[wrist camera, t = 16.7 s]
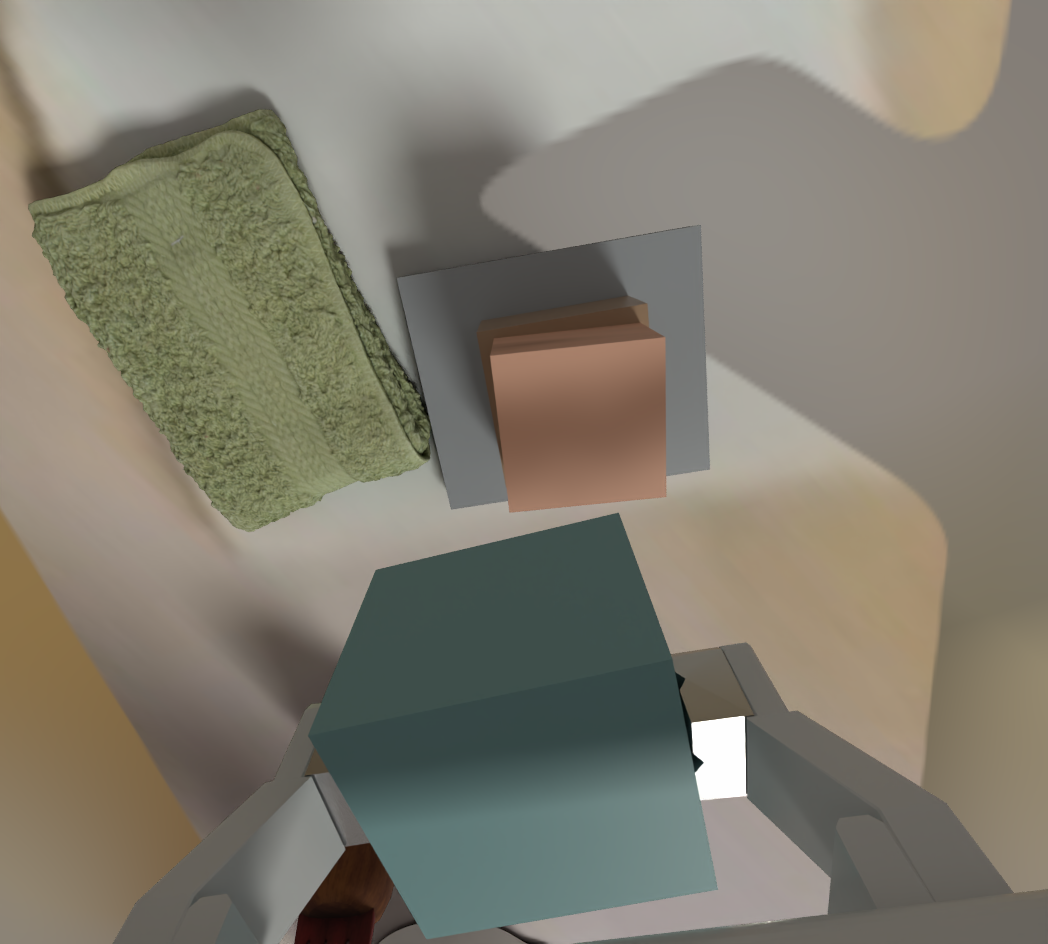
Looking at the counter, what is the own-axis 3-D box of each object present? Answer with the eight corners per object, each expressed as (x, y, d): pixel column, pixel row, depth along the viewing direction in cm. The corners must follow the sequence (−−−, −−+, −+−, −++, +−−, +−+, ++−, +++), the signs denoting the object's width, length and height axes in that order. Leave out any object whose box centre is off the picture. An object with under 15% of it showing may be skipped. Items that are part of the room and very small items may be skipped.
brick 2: (658, 699, 13) (718, 889, 9) (451, 741, 13) (426, 939, 9) (618, 512, 11) (672, 658, 7) (376, 569, 11) (307, 735, 7)
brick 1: (643, 459, 25) (666, 496, 21) (510, 473, 25) (509, 512, 21) (640, 322, 22) (665, 337, 19) (493, 338, 23) (489, 355, 19)
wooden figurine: (443, 719, 37) (402, 997, 24) (419, 777, 39) (369, 1064, 26) (345, 694, 37) (242, 968, 23) (326, 755, 39) (220, 1041, 25)
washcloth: (281, 97, 24) (249, 76, 21) (450, 446, 31) (443, 468, 28) (39, 219, 26) (-22, 215, 23) (246, 526, 32) (219, 555, 29)
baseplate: (700, 459, 31) (738, 501, 26) (453, 497, 31) (442, 546, 26) (690, 226, 26) (733, 220, 21) (402, 276, 27) (376, 283, 22)
